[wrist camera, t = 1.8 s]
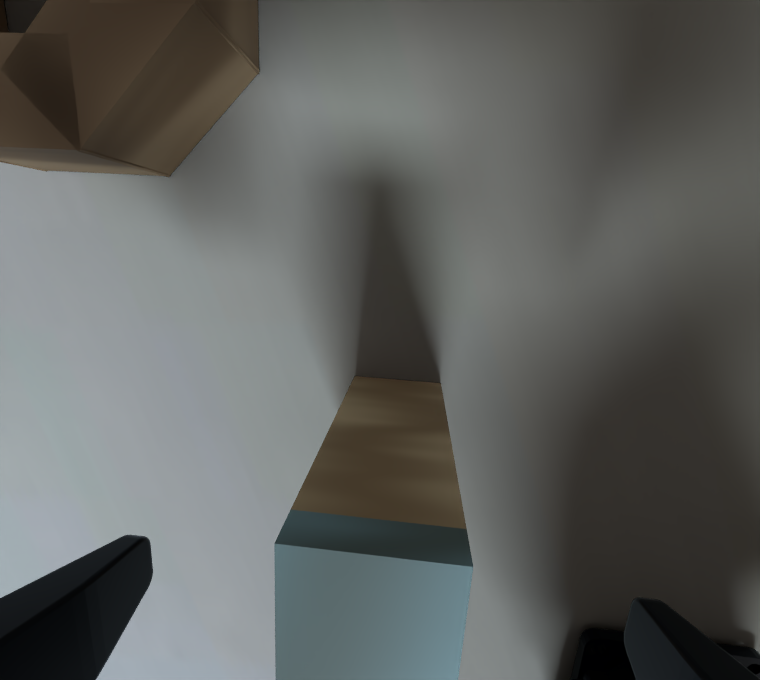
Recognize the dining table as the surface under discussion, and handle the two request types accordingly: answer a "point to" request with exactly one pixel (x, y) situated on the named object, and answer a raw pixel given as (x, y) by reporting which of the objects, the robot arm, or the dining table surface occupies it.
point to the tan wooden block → (376, 545)
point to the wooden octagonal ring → (121, 81)
